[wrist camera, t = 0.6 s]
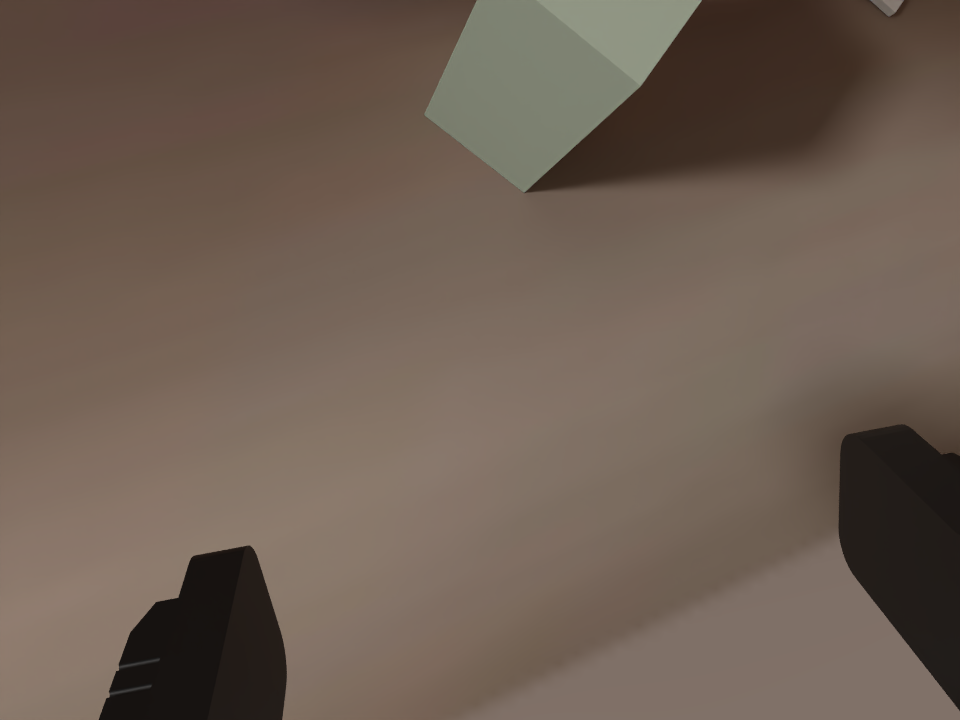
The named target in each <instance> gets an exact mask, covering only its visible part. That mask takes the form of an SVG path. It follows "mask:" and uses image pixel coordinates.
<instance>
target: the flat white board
mask: <svg viewBox="0 0 960 720" xmlns="http://www.w3.org/2000/svg"><path fill="white" fill-rule="evenodd" d="M870 1H871V2H873V3H874V4H875V5H876V6H877V7H878V8H879V9H881V10H882V11H883V12H884V13H885V14H886V15H887V16H889V17H890V16H891V15H893V14H894V13H896V11H897V10H898V8H899V7H900V5H901V4H902V2H903V1H904V0H870Z"/></svg>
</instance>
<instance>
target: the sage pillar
mask: <svg viewBox="0 0 960 720" xmlns="http://www.w3.org/2000/svg"><path fill="white" fill-rule="evenodd" d="M701 1H702V0H477V1H476V3H475V6H474V8H473V10H472V12H471V14H470V16H469V19H468V21H467V23H466V25H465V27H464V29H463V32H462V34H461V36H460V38H459V40H458V42H457V45H456V47H455V49H454V51H453V53H452V55H451V58H450V60H449V62H448V64H447V66H446V68H445V71H444V73H443V75H442V77H441V79H440V82H439V84H438V86H437V88H436V90H435V92H434V95H433V97H432V99H431V101H430V103H429V105H428V108H427V110H426V112H425V114H424V115H425V116H426V117H427V118H429V119H430V120H431V121H433V122H434V123H435V124H436V125H438V126H439V127H440V128H442V129H443V130H444V131H445V132H447V133H448V134H449V135H451V136H452V137H453V138H454V139H456V140H457V141H458V142H460V143H461V144H462V145H463V146H465V147H466V148H467V149H469V150H470V151H471V152H472V153H474V154H475V155H476V156H478V157H479V158H480V159H481V160H483V161H484V162H485V163H486V164H488V165H489V166H490V167H492V168H493V169H494V170H495V171H497V172H498V173H499V174H501V175H502V176H503V177H504V178H506V179H507V180H508V181H510V182H511V183H512V184H513V185H515V186H516V187H517V188H519V189H520V190H521V191H522V192H526V191H527V190H528V189H529V188H530V187H531V186H532V185H533V184H534V183H535V182H536V181H538V180H539V179H540V178H541V177H542V176H543V175H544V174H545V173H546V172H547V171H548V170H550V169H551V168H552V167H553V166H554V165H555V164H556V163H557V162H558V161H559V160H561V159H562V158H563V157H564V156H565V155H566V154H567V153H568V152H569V151H570V150H571V149H573V148H574V147H575V146H576V145H577V144H578V143H579V142H580V141H581V140H582V139H583V138H585V137H586V136H587V135H588V134H589V133H590V132H591V131H592V130H593V129H594V128H596V127H597V126H598V125H599V124H600V123H601V122H602V121H603V120H604V119H605V118H606V117H608V116H609V115H610V114H611V113H612V112H613V111H614V110H615V109H616V108H617V107H618V106H620V105H621V104H622V103H623V102H624V101H625V100H626V99H627V98H628V97H629V96H630V95H632V94H633V93H634V92H635V91H636V90H637V89H638V88H639V87H640V86H641V85H642V84H643V82H644V81H645V80H646V78H647V77H648V75H649V74H650V72H651V71H652V70H653V68H654V67H655V65H656V64H657V63H658V61H659V60H660V58H661V57H662V56H663V54H664V53H665V51H666V50H667V49H668V47H669V46H670V44H671V43H672V42H673V40H674V39H675V37H676V36H677V35H678V33H679V32H680V30H681V29H682V28H683V26H684V25H685V23H686V22H687V21H688V19H689V18H690V16H691V15H692V14H693V12H694V11H695V9H696V8H697V6H698V5H699V4H700V2H701Z"/></svg>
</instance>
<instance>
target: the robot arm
mask: <svg viewBox="0 0 960 720" xmlns="http://www.w3.org/2000/svg"><path fill="white" fill-rule="evenodd" d="M839 538H840V543H841V547H842V551H843V554H844V557H845V560H846V562H847V564H848V566H849V568H850V570H851V572H852V573H853V575H854V576H855V577H856V579H857V580H858V581H859V583H860V584H861V585H862V586H863V588H864V589H865V590H866V592H867V593H868V594H869V595H870V597H871V598H872V599H873V601H874V602H875V603H876V604H877V606H878V607H879V608H880V610H881V611H882V612H883V613H884V615H885V616H886V617H887V618H888V620H889V621H890V622H891V624H892V625H893V626H894V627H895V629H896V630H897V631H898V632H899V634H900V635H901V636H902V638H903V639H904V640H905V641H906V643H907V644H908V645H909V646H910V648H911V649H912V650H913V652H914V653H915V654H916V655H917V657H918V658H919V659H920V661H922V663H923V664H924V666H925V667H926V668H927V669H928V671H929V672H930V673H931V675H932V676H933V677H934V678H935V680H936V681H937V682H938V683H939V685H940V686H941V687H942V689H943V690H944V691H945V692H946V694H947V695H948V696H949V697H950V699H951V700H952V701H953V703H954V704H955V705H956V706H957V708H958V709H959V710H960V456H959V455H956V454H954V453H948V454H943V455H941V454H940V453H939V452H938V451H937V450H936V449H935V448H933V447H932V446H931V445H930V444H929V443H928V442H926V441H925V440H924V439H923V438H922V437H921V436H919V435H918V434H917V433H916V432H915V431H914V430H913V429H911V428H910V427H909V426H906V425H902V424H901V425H895V426H890V427H885V428H879V429H874V430H869V431H863V432H858V433H853V434H848V435H846V436H845V438H844V439H843V441H842V445H841V453H840V492H839ZM286 681H287V668H286V656H285V649H284V643H283V639H282V635H281V631H280V628H279V625H278V622H277V618H276V615H275V612H274V609H273V606H272V602H271V599H270V596H269V593H268V590H267V586H266V583H265V580H264V577H263V574H262V570H261V567H260V564H259V561H258V558H257V555H256V553H255V551H254V549H253V548H252V547H251V546H243V547H238V548H233V549H228V550H222V551H217V552H212V553H206V554H201V555H196V556H193V557H192V558H191V560H190V562H189V565H188V568H187V572H186V575H185V578H184V581H183V585H182V588H181V591H180V594H179V598H175V599H170V600H165V601H159V602H156V603H155V604H154V605H153V607H152V608H151V609H150V610H149V611H148V612H147V614H146V615H145V616H144V617H143V618H142V619H141V621H140V622H139V623H138V624H137V625H136V627H135V628H134V629H133V630H132V631H131V632H130V635H129V637H128V640H127V643H126V646H125V649H124V651H123V654H122V657H121V660H120V662H119V671H116V673H115V676H114V679H113V682H112V684H111V687H110V690H109V693H110V697H109V698H106V701H105V704H104V707H103V709H102V712H101V715H100V718H99V720H282V716H283V708H284V700H285V691H286Z"/></svg>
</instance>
